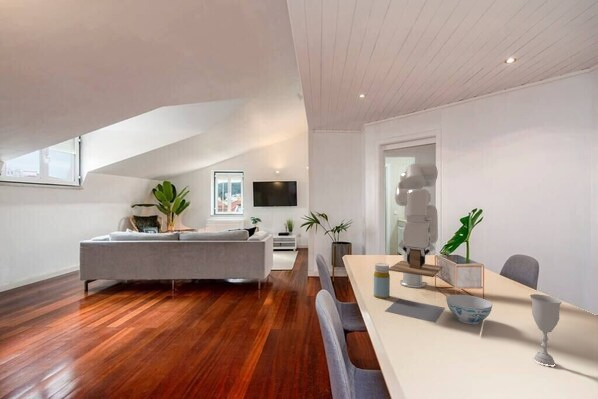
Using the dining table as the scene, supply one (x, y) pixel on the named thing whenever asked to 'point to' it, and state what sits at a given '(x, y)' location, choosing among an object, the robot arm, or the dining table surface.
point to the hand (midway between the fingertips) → (415, 264)
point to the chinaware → (469, 308)
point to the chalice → (545, 321)
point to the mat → (416, 310)
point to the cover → (415, 266)
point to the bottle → (381, 281)
